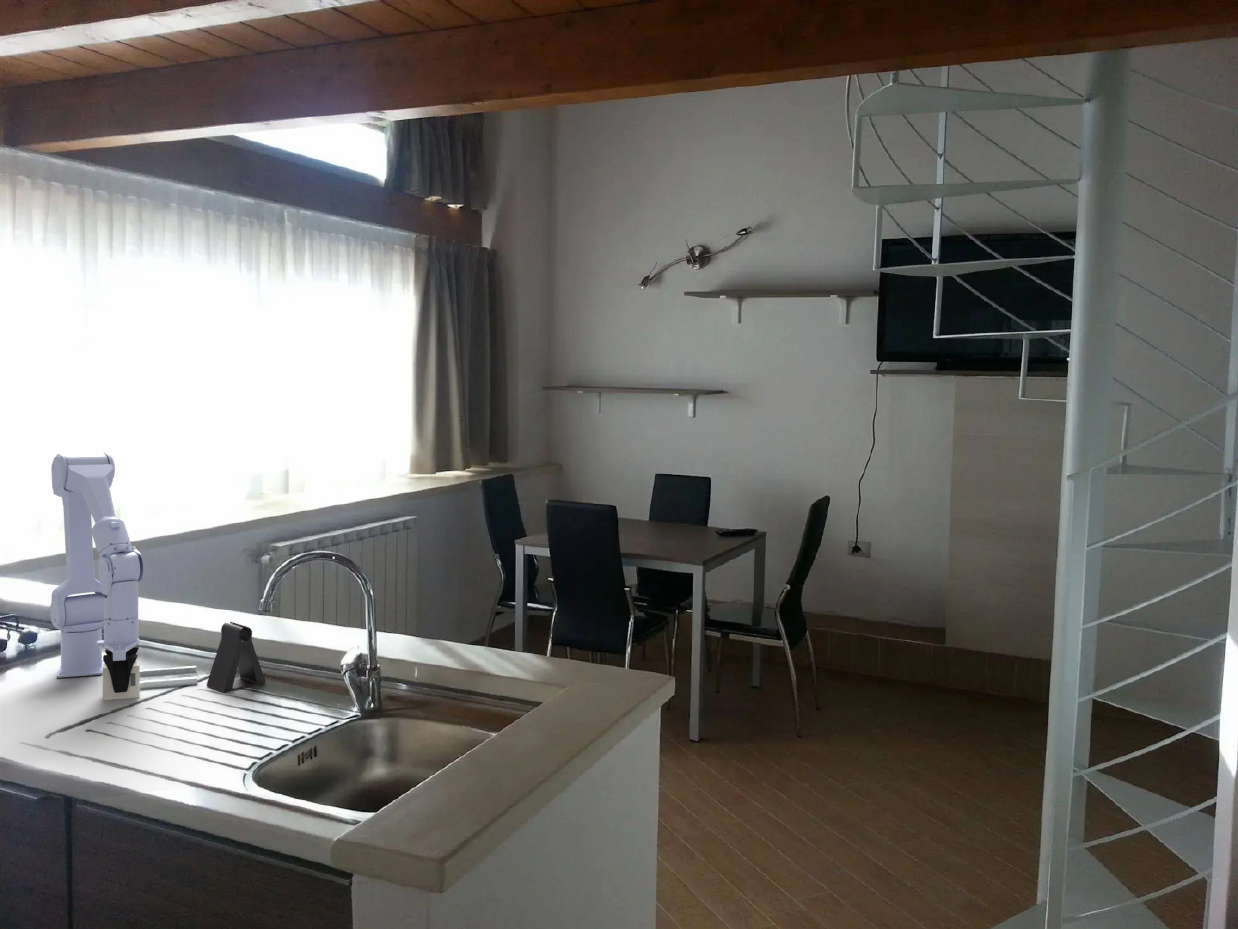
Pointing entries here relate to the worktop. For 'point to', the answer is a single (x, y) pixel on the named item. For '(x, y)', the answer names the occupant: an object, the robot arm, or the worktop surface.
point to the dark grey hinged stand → (235, 660)
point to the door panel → (132, 688)
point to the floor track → (168, 677)
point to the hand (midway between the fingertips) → (121, 688)
